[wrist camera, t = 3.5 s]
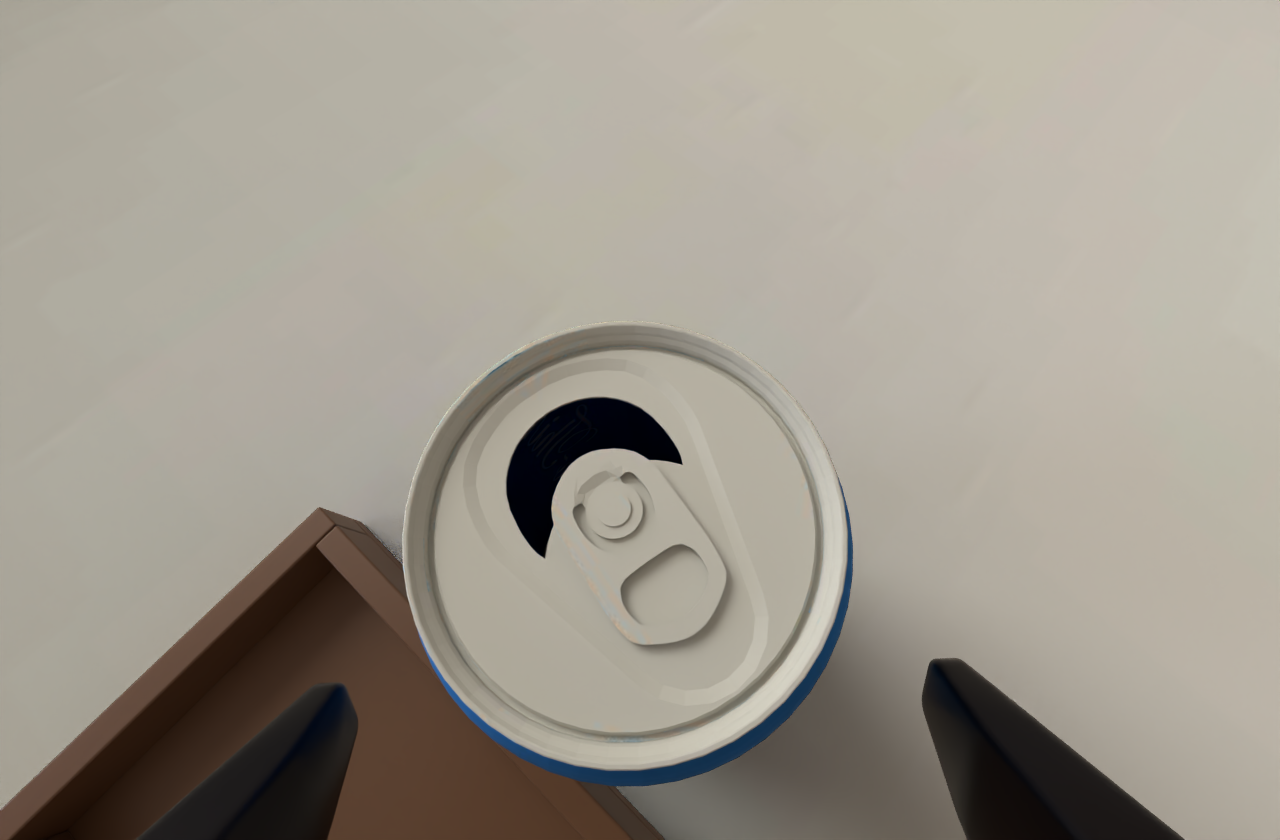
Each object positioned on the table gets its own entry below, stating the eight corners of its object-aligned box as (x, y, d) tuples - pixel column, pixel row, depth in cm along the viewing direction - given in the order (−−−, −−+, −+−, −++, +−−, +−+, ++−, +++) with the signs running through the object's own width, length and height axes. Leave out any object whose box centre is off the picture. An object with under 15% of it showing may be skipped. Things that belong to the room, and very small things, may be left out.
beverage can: (670, 445, 20) (682, 217, 9) (793, 613, 19) (999, 588, 7) (504, 557, 19) (284, 457, 8) (616, 745, 18) (535, 958, 6)
